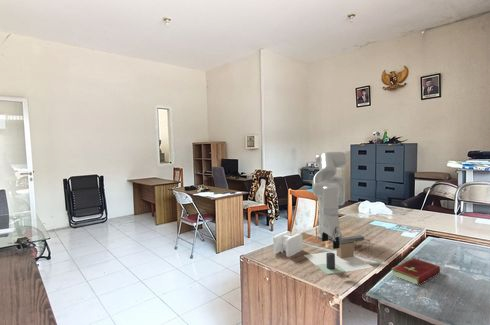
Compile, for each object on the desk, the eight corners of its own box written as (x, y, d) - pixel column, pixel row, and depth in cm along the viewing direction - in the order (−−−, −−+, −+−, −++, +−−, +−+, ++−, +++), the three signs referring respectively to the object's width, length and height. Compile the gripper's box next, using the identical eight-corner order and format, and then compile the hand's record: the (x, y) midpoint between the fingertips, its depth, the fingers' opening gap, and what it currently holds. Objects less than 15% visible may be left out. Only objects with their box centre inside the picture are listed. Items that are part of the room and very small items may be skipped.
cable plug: (325, 266, 136) (324, 253, 135) (332, 265, 137) (332, 252, 136) (329, 270, 132) (329, 256, 131) (336, 268, 133) (336, 255, 132)
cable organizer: (287, 260, 149) (287, 239, 148) (272, 255, 156) (272, 235, 155) (302, 252, 159) (302, 233, 158) (288, 248, 167) (288, 229, 166)
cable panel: (303, 257, 151) (303, 241, 151) (344, 252, 158) (344, 236, 157) (327, 277, 128) (327, 258, 128) (373, 270, 135) (373, 252, 134)
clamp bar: (332, 242, 148) (332, 238, 148) (360, 238, 153) (360, 235, 153) (335, 244, 145) (335, 240, 145) (364, 240, 150) (364, 236, 150)
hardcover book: (440, 274, 130) (440, 265, 130) (418, 287, 119) (418, 277, 119) (413, 265, 140) (413, 257, 140) (391, 276, 129) (391, 267, 129)
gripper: (314, 207, 140) (314, 239, 142) (333, 216, 123) (333, 252, 125) (327, 205, 142) (327, 237, 143) (348, 214, 125) (347, 250, 127)
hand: (330, 244), depth 134 cm, fingers open, 9 cm apart
